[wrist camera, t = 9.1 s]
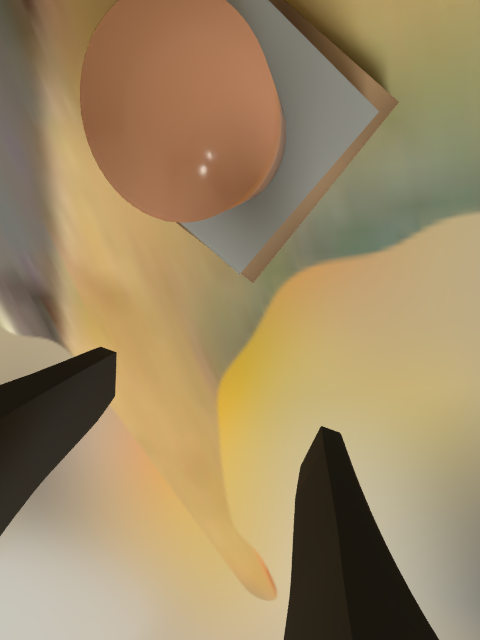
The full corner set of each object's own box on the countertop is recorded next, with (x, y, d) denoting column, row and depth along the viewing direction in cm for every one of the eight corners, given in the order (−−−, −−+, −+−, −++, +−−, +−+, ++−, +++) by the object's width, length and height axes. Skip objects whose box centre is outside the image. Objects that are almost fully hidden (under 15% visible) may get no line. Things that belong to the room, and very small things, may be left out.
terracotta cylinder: (314, 114, 11) (319, 74, 7) (239, 230, 14) (206, 257, 9) (199, 24, 11) (124, -81, 6) (141, 159, 13) (56, 152, 9)
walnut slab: (388, 110, 15) (398, 101, 12) (261, 269, 20) (253, 282, 17) (218, -40, 14) (198, -77, 12) (130, 166, 19) (104, 166, 17)
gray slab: (370, 120, 13) (379, 111, 11) (250, 259, 17) (239, 274, 15) (222, -28, 12) (199, -69, 10) (132, 156, 16) (101, 155, 14)
